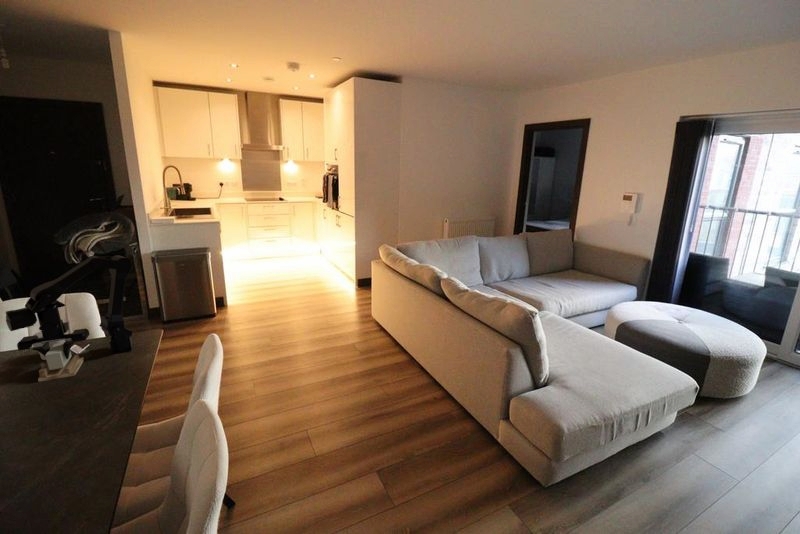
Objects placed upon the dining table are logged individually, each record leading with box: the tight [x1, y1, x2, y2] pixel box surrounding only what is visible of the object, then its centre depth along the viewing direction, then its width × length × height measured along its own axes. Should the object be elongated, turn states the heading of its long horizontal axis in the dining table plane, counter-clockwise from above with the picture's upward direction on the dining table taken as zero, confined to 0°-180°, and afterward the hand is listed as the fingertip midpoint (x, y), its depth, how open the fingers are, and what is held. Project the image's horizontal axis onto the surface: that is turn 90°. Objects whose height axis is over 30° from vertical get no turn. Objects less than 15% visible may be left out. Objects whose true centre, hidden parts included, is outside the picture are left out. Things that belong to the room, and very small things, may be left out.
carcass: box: [37, 353, 85, 383], centre depth 137 cm, size 10×12×6 cm
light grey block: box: [45, 342, 73, 370], centre depth 137 cm, size 4×9×6 cm, turn 26°
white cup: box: [32, 330, 63, 361], centre depth 147 cm, size 8×8×10 cm
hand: (60, 359), depth 137 cm, fingers closed on light grey block, 4 cm apart
